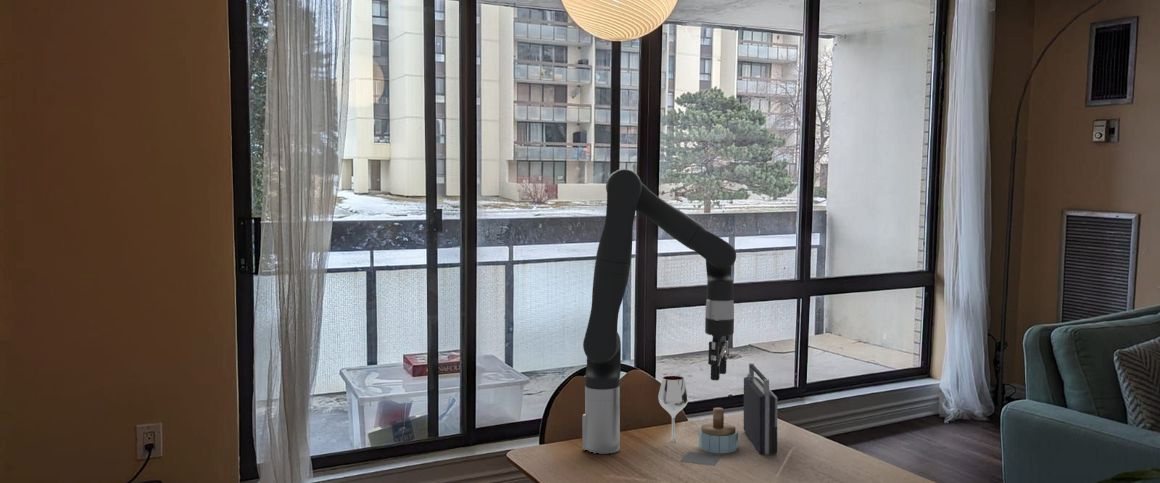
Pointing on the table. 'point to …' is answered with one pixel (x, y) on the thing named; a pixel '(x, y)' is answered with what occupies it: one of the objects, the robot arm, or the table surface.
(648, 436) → the table surface
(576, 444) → the table surface
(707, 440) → the bowl
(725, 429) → the lid
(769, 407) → the radio
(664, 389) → the wineglass
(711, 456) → the mat
